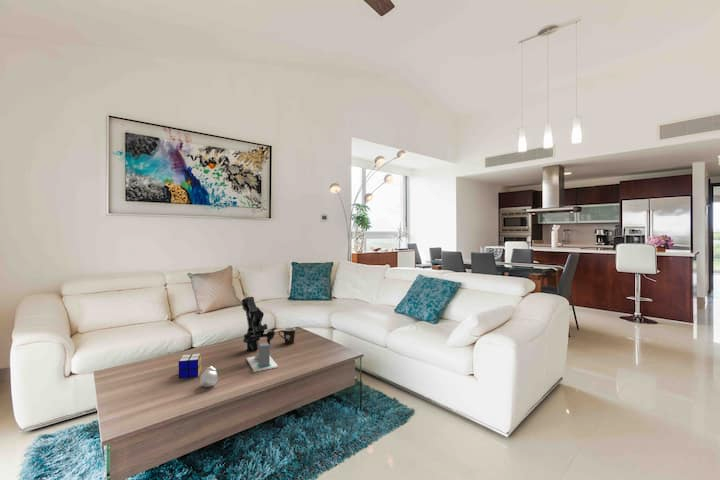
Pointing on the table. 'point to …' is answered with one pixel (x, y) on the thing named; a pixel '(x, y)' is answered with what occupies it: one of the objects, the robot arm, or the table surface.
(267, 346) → the pillar
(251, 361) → the baseplate
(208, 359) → the table surface
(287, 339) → the coffee mug
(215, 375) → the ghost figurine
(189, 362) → the puzzle cube
